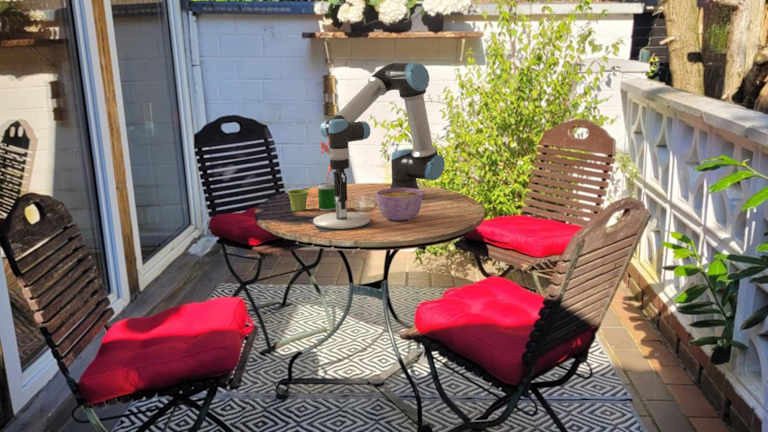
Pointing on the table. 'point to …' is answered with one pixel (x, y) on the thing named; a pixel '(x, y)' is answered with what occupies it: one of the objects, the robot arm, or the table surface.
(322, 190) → the soda can
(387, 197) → the bowl of food
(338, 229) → the mat
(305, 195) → the plant pot
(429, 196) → the table surface
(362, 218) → the lid
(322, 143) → the red flower stem
